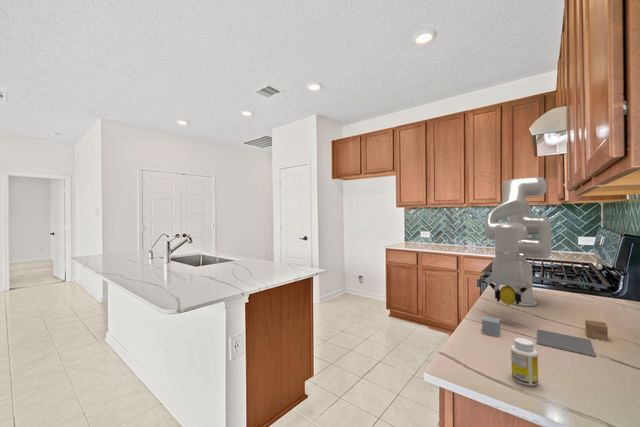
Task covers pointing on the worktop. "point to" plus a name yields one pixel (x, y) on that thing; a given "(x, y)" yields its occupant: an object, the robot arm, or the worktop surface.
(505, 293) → the lemon
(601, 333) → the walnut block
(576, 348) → the mat
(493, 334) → the slate block
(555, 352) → the worktop surface
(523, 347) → the supplement bottle
